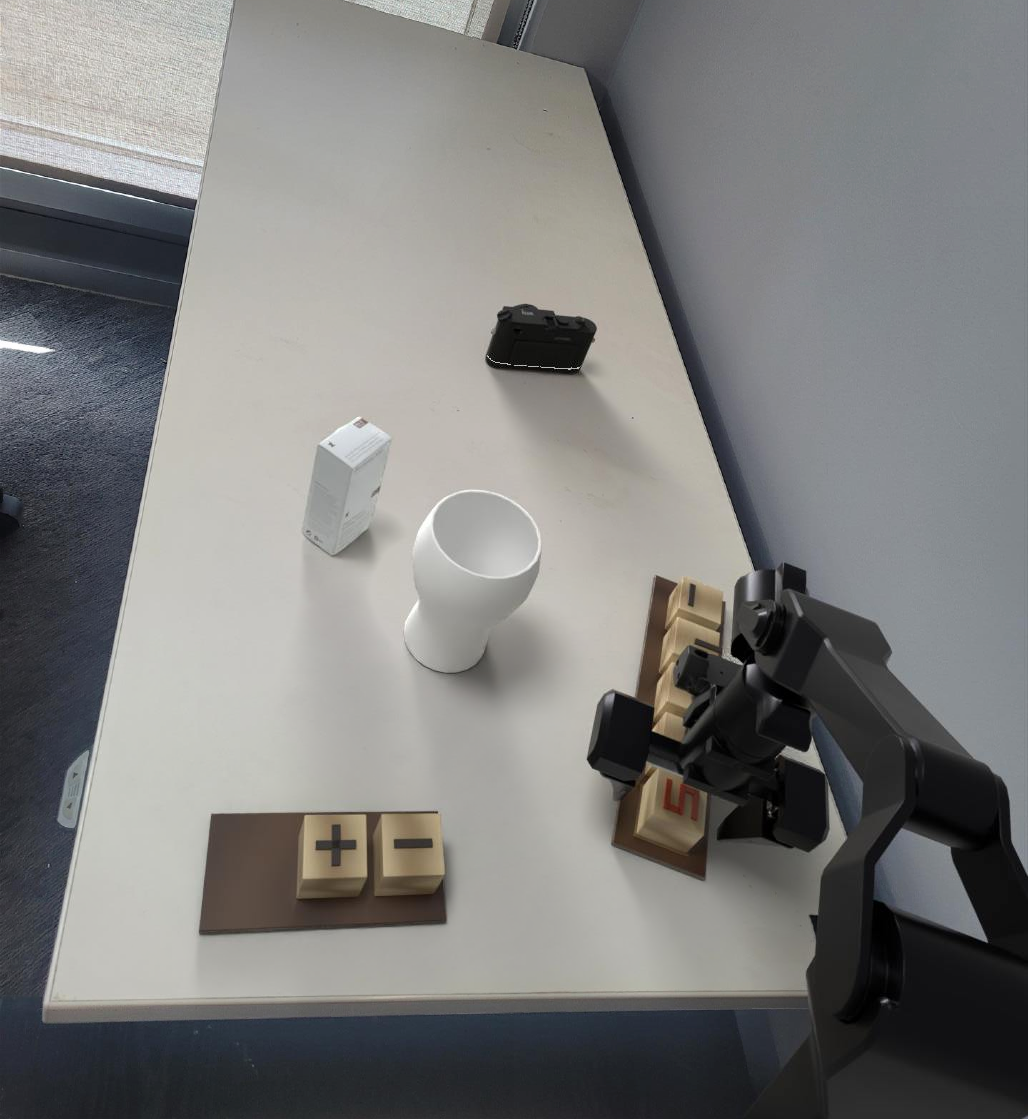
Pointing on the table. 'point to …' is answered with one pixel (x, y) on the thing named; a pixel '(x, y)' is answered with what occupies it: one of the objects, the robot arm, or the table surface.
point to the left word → (322, 871)
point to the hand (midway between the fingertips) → (667, 815)
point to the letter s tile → (671, 811)
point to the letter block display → (670, 701)
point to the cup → (469, 576)
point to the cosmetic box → (345, 485)
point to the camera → (539, 340)
